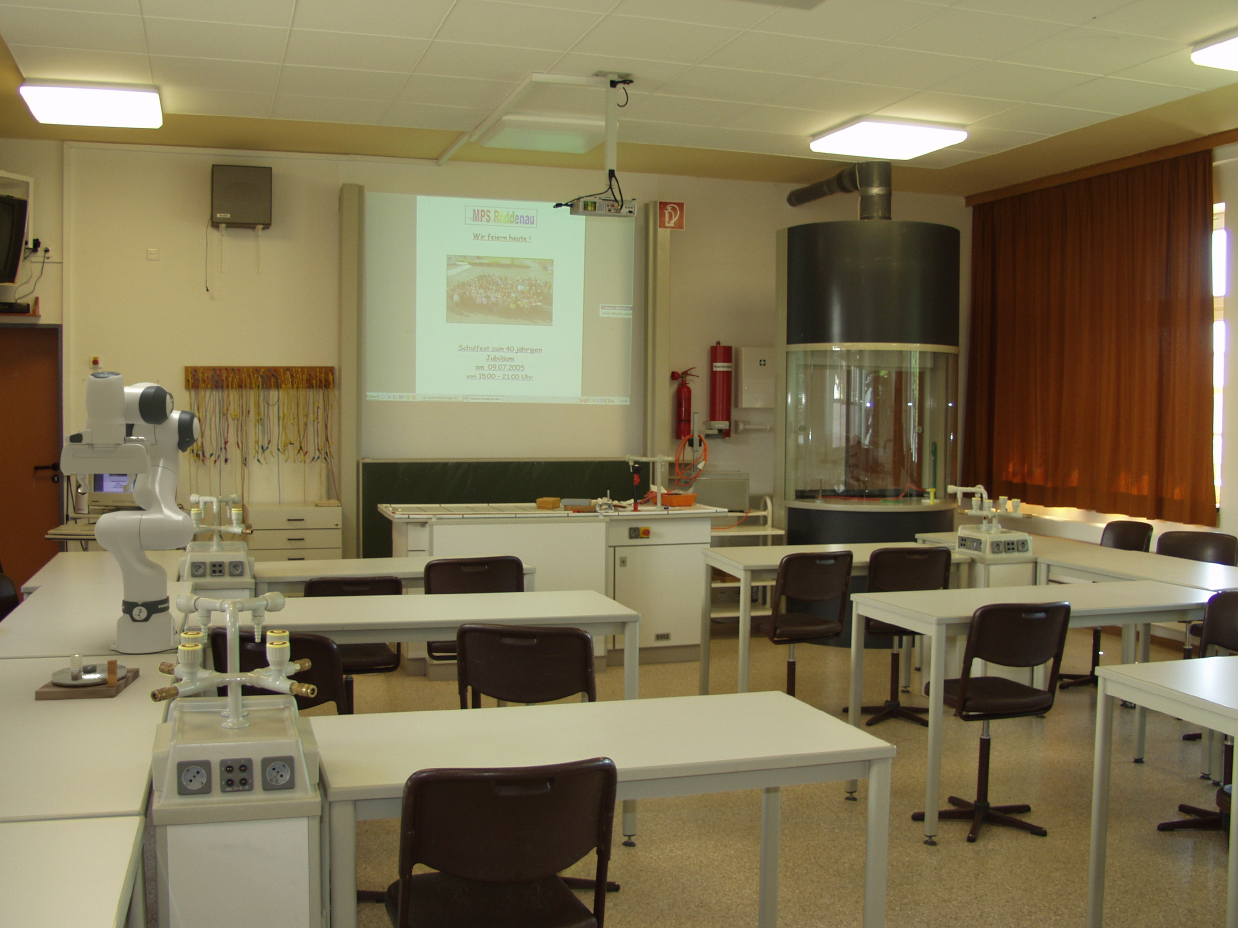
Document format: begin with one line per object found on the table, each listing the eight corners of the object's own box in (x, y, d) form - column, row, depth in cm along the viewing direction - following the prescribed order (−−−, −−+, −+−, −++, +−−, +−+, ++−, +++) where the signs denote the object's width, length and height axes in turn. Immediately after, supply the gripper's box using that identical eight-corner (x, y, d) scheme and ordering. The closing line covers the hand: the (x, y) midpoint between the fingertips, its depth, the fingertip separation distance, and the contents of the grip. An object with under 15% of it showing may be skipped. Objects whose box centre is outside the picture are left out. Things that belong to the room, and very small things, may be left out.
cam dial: (70, 669, 250) (69, 641, 250) (136, 669, 252) (136, 640, 251) (38, 687, 234) (38, 656, 234) (110, 686, 235) (109, 655, 235)
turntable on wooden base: (66, 677, 251) (66, 645, 251) (139, 675, 254) (139, 644, 254) (35, 699, 232) (34, 665, 231) (114, 697, 235) (114, 663, 234)
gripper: (154, 436, 256) (154, 491, 256) (66, 436, 252) (67, 491, 253) (147, 437, 250) (147, 492, 250) (57, 436, 246) (58, 493, 246)
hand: (106, 492), depth 251 cm, fingers open, 8 cm apart
